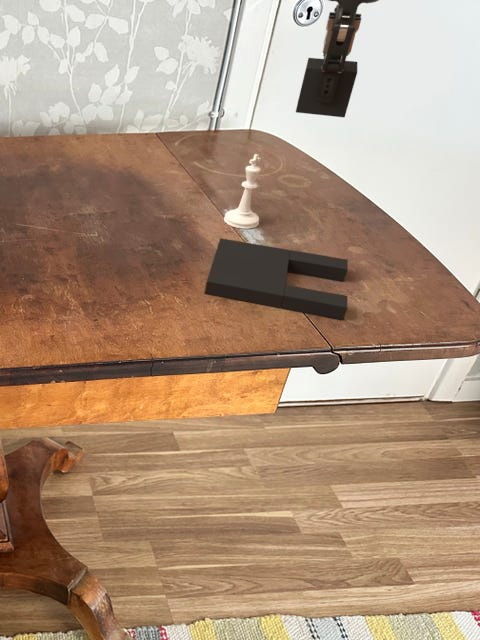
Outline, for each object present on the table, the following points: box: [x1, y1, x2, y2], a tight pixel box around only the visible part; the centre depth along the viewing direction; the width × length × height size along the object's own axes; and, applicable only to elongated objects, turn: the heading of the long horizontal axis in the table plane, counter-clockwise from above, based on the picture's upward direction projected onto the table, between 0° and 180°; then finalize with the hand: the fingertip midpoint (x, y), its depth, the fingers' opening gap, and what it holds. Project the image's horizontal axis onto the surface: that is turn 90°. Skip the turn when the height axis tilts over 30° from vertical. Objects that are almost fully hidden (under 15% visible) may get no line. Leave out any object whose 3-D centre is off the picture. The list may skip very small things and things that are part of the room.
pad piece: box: [295, 57, 358, 118], centre depth 98 cm, size 6×6×6 cm
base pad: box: [204, 237, 349, 321], centre depth 88 cm, size 16×12×2 cm
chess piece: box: [223, 153, 262, 230], centre depth 99 cm, size 5×5×10 cm
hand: (324, 94), depth 98 cm, fingers closed on pad piece, 5 cm apart
